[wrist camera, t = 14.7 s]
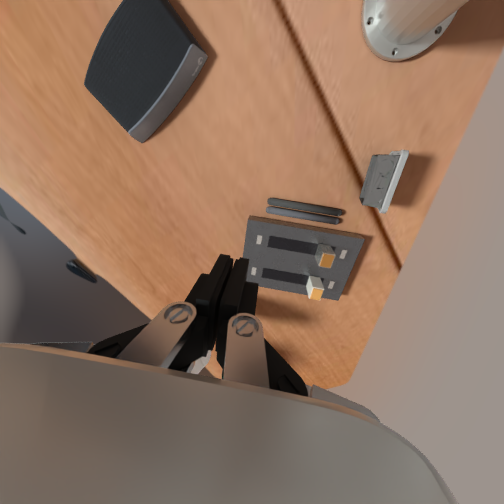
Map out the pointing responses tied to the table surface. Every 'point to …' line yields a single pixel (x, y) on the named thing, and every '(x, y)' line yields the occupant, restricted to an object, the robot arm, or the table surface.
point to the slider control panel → (299, 255)
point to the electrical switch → (383, 179)
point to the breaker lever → (314, 288)
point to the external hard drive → (143, 65)
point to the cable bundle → (306, 208)
